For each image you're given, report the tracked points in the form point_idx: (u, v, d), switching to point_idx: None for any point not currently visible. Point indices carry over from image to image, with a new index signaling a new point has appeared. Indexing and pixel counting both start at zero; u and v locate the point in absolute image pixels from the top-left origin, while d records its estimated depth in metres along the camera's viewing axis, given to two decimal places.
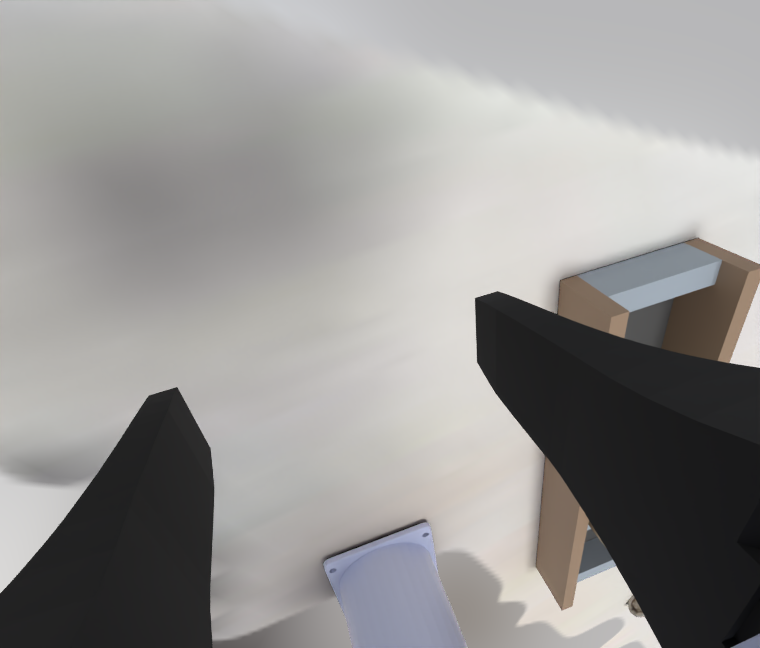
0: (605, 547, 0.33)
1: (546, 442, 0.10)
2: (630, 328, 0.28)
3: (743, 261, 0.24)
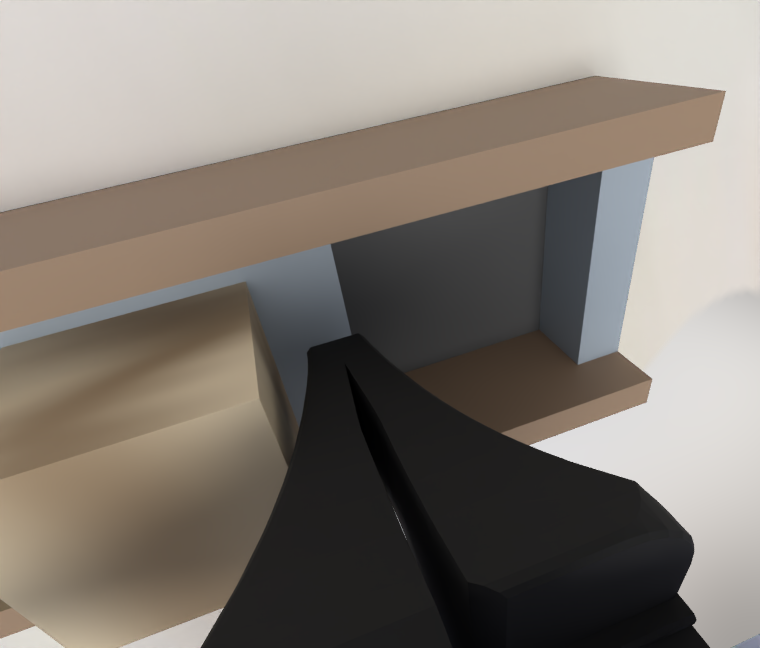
0: None
1: (392, 498, 0.09)
2: None
3: None
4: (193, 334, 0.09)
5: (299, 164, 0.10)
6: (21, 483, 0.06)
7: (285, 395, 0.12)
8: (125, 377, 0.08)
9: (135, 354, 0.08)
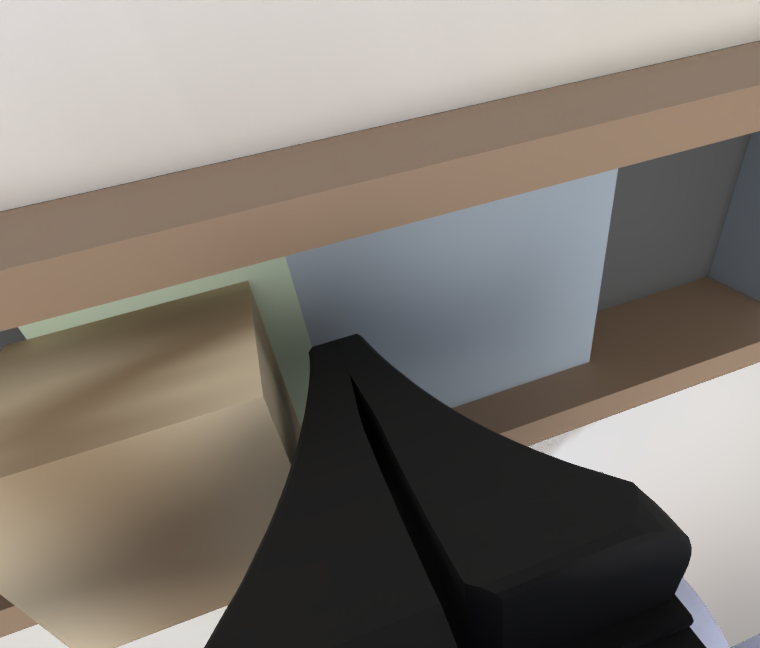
0: None
1: None
2: None
3: None
4: (196, 332, 0.09)
5: (603, 94, 0.11)
6: (25, 479, 0.06)
7: (287, 394, 0.12)
8: (128, 375, 0.08)
9: (138, 352, 0.08)
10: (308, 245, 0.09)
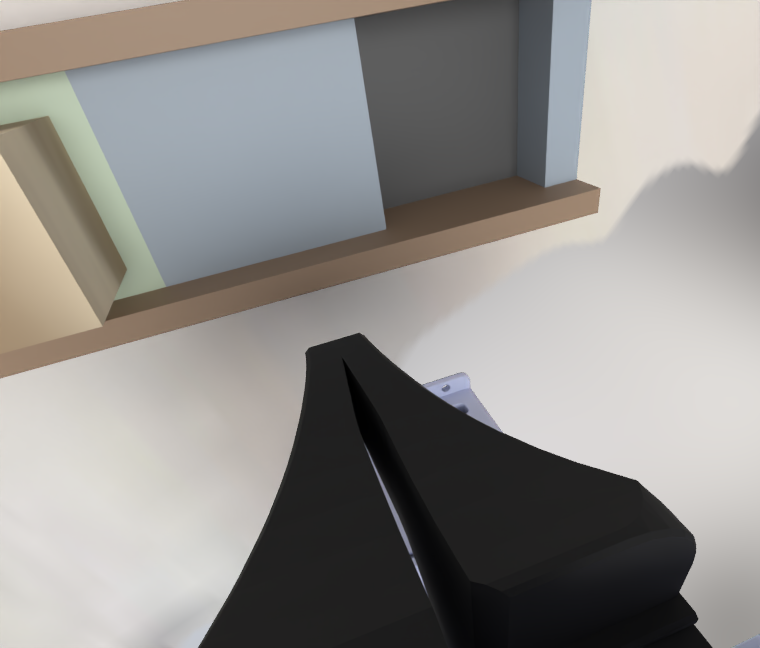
0: None
1: (393, 498, 0.09)
2: None
3: None
4: None
5: None
6: None
7: (97, 221, 0.15)
8: None
9: None
10: (64, 65, 0.12)
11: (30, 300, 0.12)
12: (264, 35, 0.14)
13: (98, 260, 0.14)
